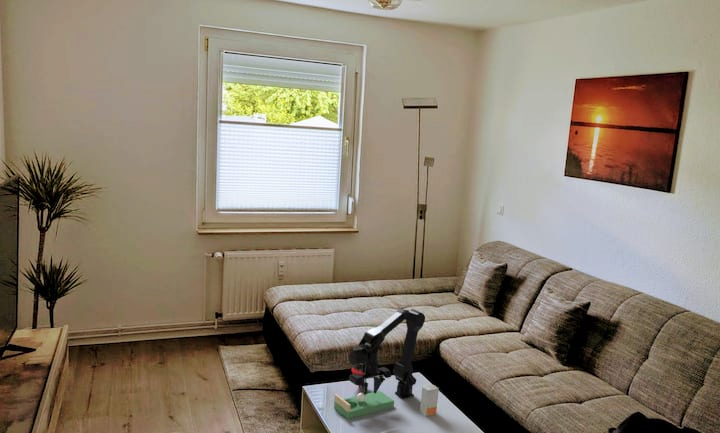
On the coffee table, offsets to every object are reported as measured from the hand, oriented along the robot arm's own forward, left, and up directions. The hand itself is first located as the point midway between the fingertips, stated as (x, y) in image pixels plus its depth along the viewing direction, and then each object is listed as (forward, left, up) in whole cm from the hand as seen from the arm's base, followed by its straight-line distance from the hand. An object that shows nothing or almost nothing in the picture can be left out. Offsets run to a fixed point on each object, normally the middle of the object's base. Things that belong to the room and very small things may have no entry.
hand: (369, 394), depth 246 cm
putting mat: (+3, 0, -6) cm, 6 cm away
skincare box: (-19, +17, -6) cm, 26 cm away
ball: (+4, 0, -2) cm, 4 cm away
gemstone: (-6, -17, -6) cm, 19 cm away
